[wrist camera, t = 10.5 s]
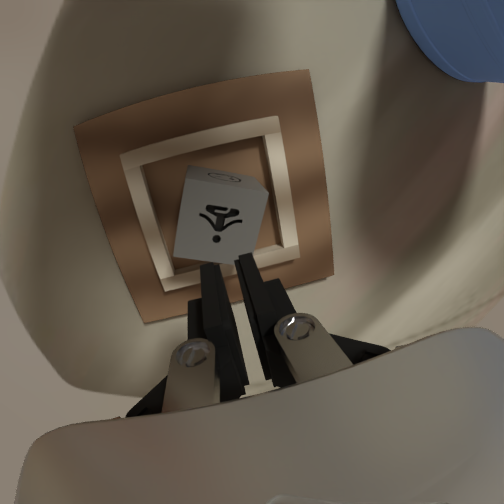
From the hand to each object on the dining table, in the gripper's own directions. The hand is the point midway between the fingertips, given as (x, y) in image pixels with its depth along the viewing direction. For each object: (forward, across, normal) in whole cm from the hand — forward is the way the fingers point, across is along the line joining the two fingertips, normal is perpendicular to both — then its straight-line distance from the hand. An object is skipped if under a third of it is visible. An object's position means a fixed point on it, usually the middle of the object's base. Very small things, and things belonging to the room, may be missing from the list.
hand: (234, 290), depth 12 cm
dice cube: (+12, 0, 0) cm, 12 cm away
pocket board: (+13, 0, 0) cm, 13 cm away
